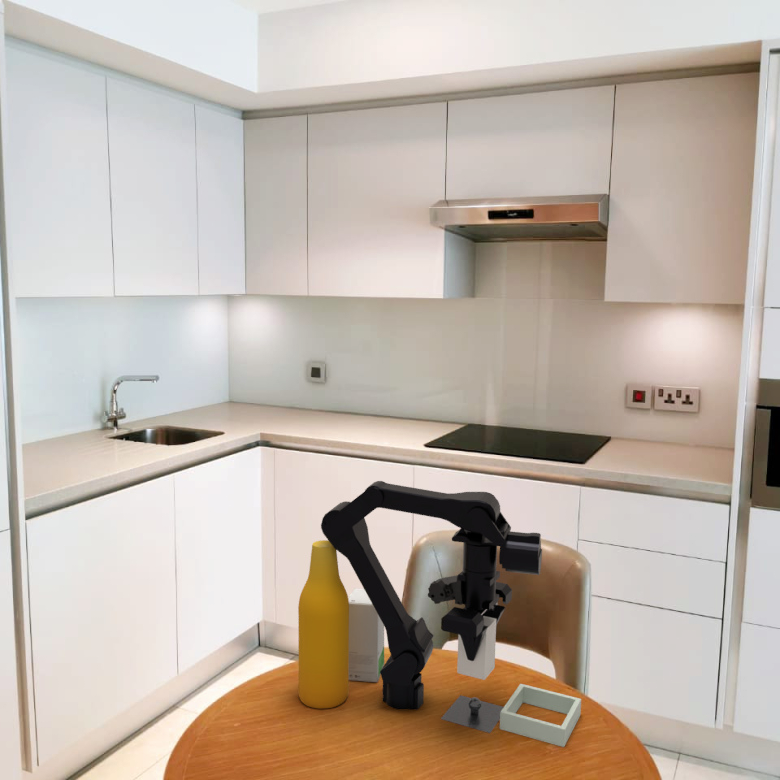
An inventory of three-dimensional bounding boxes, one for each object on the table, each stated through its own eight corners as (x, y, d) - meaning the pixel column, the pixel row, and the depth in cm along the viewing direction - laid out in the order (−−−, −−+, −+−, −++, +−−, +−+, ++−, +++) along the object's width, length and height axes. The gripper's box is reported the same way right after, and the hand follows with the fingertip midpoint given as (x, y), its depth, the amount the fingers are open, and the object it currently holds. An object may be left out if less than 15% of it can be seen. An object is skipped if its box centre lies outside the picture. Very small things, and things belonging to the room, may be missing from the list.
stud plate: (440, 724, 136) (441, 703, 135) (460, 700, 144) (460, 680, 143) (489, 738, 132) (490, 717, 131) (507, 713, 140) (508, 693, 139)
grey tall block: (484, 680, 133) (486, 629, 132) (457, 673, 136) (458, 623, 134) (494, 667, 138) (496, 618, 137) (467, 661, 140) (469, 612, 139)
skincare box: (377, 683, 149) (379, 605, 147) (343, 680, 150) (344, 602, 148) (384, 663, 158) (386, 588, 156) (352, 660, 159) (353, 586, 157)
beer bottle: (335, 714, 138) (336, 555, 135) (289, 703, 142) (288, 548, 138) (356, 689, 147) (358, 539, 143) (312, 680, 150) (312, 533, 146)
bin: (499, 734, 133) (500, 712, 133) (519, 704, 143) (520, 683, 142) (563, 752, 128) (564, 729, 128) (580, 720, 138) (581, 698, 137)
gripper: (456, 544, 146) (454, 624, 148) (413, 576, 130) (411, 665, 132) (514, 554, 141) (511, 637, 143) (476, 588, 125) (473, 681, 127)
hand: (476, 653), depth 136 cm, fingers closed on grey tall block, 5 cm apart
